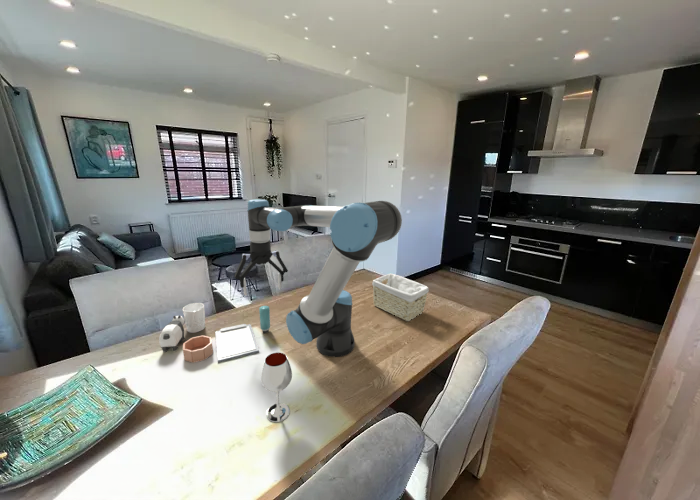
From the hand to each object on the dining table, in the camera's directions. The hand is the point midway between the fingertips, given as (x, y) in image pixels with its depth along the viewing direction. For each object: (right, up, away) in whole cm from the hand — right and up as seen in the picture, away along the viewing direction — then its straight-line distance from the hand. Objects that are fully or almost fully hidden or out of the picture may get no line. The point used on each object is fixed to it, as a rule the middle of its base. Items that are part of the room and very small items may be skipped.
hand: (263, 291), depth 113 cm
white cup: (-30, -17, +6) cm, 35 cm away
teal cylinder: (-1, -18, +5) cm, 19 cm away
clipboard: (-10, -20, -3) cm, 22 cm away
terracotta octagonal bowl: (-20, -22, -10) cm, 31 cm away
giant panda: (-33, -20, -4) cm, 38 cm away
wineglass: (+15, -30, -33) cm, 47 cm away
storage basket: (+60, -14, +29) cm, 67 cm away
